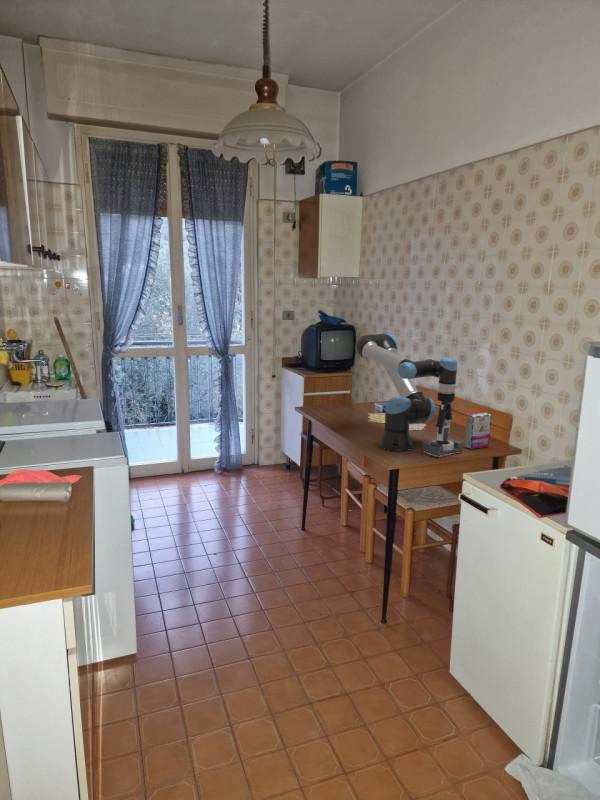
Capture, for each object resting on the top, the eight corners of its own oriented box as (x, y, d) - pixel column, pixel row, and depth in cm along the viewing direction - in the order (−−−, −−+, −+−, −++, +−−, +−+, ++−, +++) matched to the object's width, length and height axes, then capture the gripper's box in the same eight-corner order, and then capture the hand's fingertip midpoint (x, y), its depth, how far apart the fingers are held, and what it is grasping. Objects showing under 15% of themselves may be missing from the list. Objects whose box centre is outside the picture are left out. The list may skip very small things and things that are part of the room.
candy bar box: (481, 444, 266) (484, 412, 262) (489, 447, 261) (492, 414, 258) (463, 446, 262) (466, 414, 258) (470, 449, 257) (473, 416, 253)
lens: (435, 447, 251) (437, 424, 248) (438, 445, 255) (440, 421, 253) (446, 449, 249) (448, 425, 246) (448, 446, 253) (450, 423, 250)
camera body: (437, 458, 244) (438, 445, 243) (421, 452, 252) (422, 440, 251) (462, 452, 253) (463, 440, 251) (445, 447, 261) (446, 435, 260)
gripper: (448, 398, 234) (445, 445, 238) (460, 388, 255) (456, 431, 260) (431, 396, 237) (428, 442, 242) (444, 386, 259) (441, 429, 263)
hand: (443, 436), depth 251 cm, fingers open, 13 cm apart
